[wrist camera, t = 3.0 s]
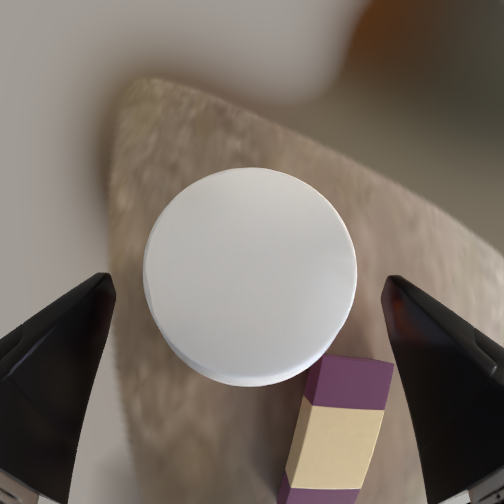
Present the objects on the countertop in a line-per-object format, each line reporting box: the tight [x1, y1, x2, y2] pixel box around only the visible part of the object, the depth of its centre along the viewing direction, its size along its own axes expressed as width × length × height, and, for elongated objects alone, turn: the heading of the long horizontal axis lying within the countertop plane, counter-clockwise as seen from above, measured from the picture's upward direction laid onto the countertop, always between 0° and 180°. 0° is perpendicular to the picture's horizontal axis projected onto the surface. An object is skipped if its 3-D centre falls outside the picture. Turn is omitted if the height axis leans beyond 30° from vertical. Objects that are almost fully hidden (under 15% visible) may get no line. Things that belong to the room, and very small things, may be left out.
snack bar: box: [276, 354, 394, 504], centre depth 14 cm, size 10×4×2 cm, turn 169°
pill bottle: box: [143, 167, 357, 387], centre depth 12 cm, size 6×6×11 cm
